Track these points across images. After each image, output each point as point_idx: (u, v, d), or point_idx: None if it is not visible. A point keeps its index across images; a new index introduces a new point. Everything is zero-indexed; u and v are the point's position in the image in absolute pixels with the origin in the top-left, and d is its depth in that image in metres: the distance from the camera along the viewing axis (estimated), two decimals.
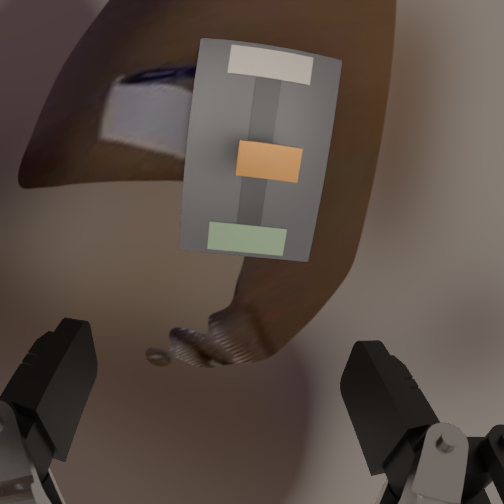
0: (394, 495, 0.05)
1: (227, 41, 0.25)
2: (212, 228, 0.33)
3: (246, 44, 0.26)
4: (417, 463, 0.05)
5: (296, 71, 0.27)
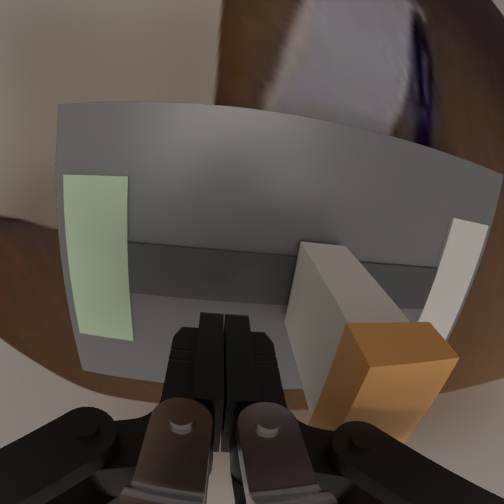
0: None
1: (492, 218, 0.14)
2: (111, 184, 0.12)
3: (481, 249, 0.15)
4: (242, 461, 0.05)
5: None
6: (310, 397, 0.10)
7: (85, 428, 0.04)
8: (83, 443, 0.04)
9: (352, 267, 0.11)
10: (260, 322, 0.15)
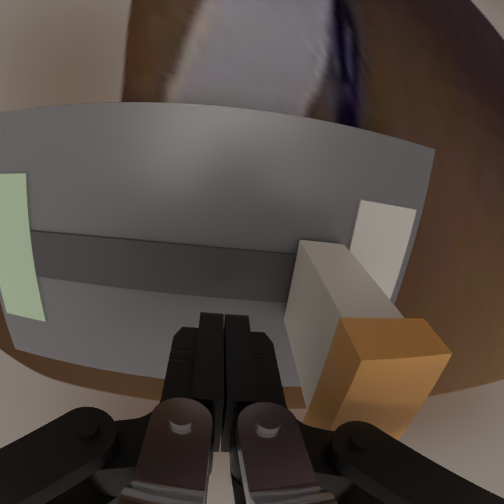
0: None
1: (422, 201, 0.13)
2: (15, 180, 0.11)
3: (410, 238, 0.14)
4: (242, 461, 0.05)
5: None
6: (307, 393, 0.10)
7: (85, 428, 0.04)
8: (83, 443, 0.04)
9: (349, 265, 0.11)
10: (148, 309, 0.15)
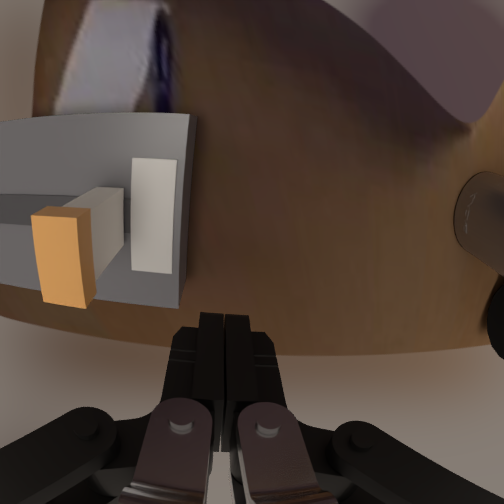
0: None
1: (183, 153, 0.19)
2: None
3: (179, 181, 0.20)
4: (242, 461, 0.05)
5: (145, 251, 0.22)
6: None
7: (84, 428, 0.04)
8: (83, 443, 0.04)
9: (104, 195, 0.17)
10: (31, 238, 0.21)
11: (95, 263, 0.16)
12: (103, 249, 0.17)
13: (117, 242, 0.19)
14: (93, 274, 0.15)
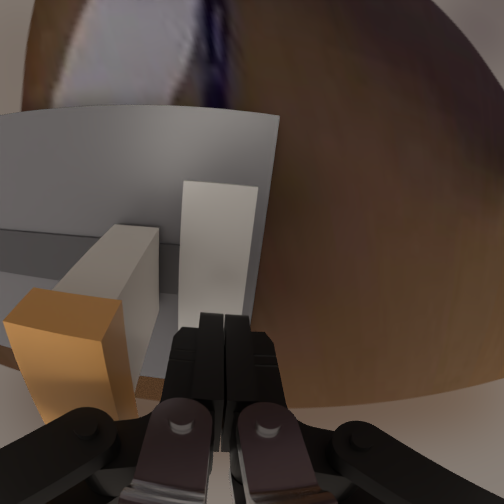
0: None
1: (267, 177, 0.13)
2: None
3: (258, 220, 0.13)
4: (243, 461, 0.05)
5: None
6: None
7: (84, 428, 0.04)
8: (83, 443, 0.04)
9: (132, 246, 0.11)
10: (25, 292, 0.14)
11: (131, 372, 0.09)
12: (138, 341, 0.10)
13: (152, 314, 0.13)
14: (133, 400, 0.08)
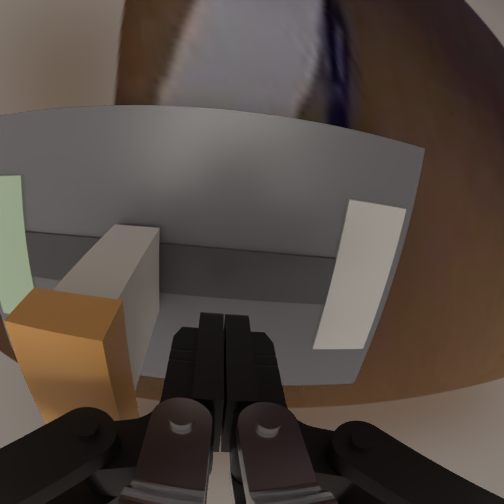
0: None
1: (412, 200, 0.14)
2: (10, 182, 0.12)
3: (401, 237, 0.14)
4: (242, 461, 0.05)
5: (339, 326, 0.16)
6: None
7: (85, 428, 0.04)
8: (83, 443, 0.04)
9: (132, 246, 0.11)
10: None
11: (131, 372, 0.09)
12: (139, 340, 0.10)
13: (153, 314, 0.13)
14: (134, 399, 0.08)
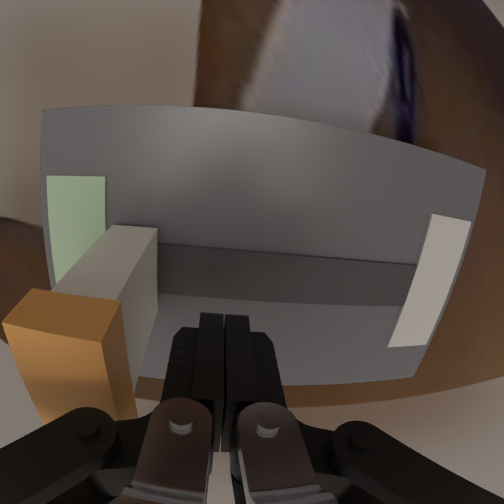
0: None
1: (475, 214, 0.14)
2: (90, 184, 0.12)
3: (464, 245, 0.15)
4: (242, 461, 0.05)
5: (411, 325, 0.16)
6: None
7: (85, 428, 0.04)
8: (83, 443, 0.04)
9: (130, 247, 0.11)
10: None
11: (130, 373, 0.09)
12: (137, 341, 0.10)
13: (151, 314, 0.13)
14: (133, 400, 0.08)
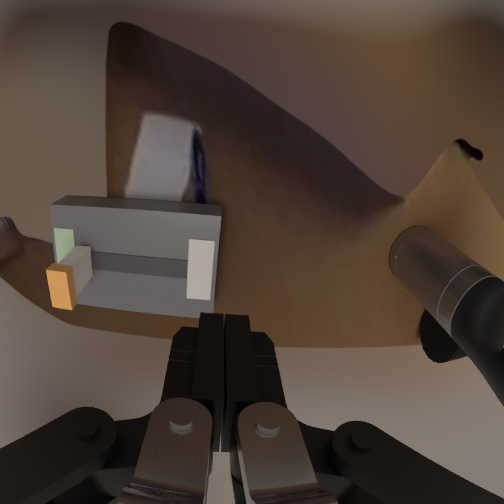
0: None
1: (218, 237, 0.37)
2: (68, 231, 0.35)
3: (215, 252, 0.38)
4: (242, 461, 0.05)
5: (195, 288, 0.39)
6: None
7: (85, 428, 0.04)
8: (83, 443, 0.04)
9: (79, 253, 0.34)
10: (119, 279, 0.38)
11: (76, 288, 0.32)
12: (80, 281, 0.33)
13: (88, 275, 0.36)
14: (75, 294, 0.31)
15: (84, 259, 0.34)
